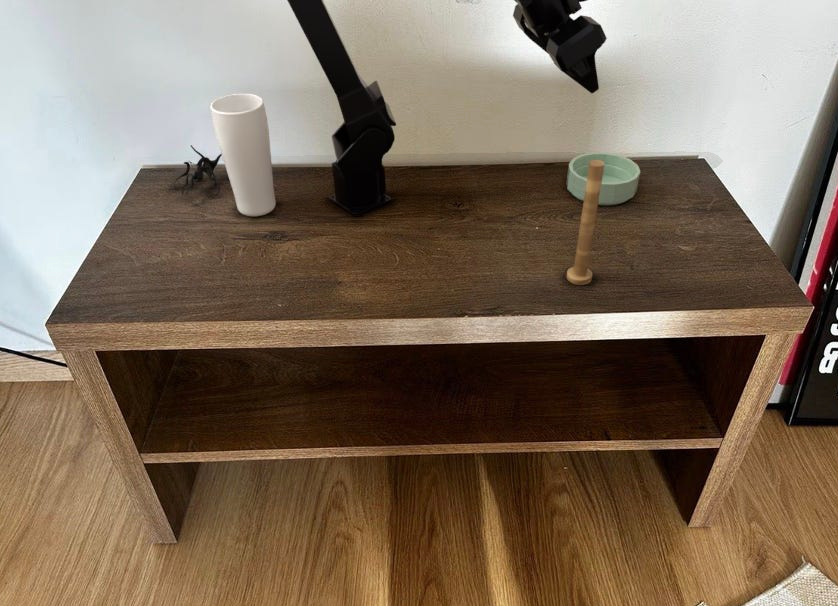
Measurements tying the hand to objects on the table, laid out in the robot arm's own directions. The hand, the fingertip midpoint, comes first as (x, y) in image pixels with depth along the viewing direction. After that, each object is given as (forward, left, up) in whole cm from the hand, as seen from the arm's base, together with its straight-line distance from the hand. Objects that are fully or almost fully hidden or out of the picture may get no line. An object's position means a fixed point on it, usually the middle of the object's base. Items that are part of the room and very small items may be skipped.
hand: (582, 78), depth 94 cm
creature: (-42, +34, -15) cm, 56 cm away
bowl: (+1, -5, -15) cm, 16 cm away
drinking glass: (-39, +23, -15) cm, 48 cm away
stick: (-19, -17, -15) cm, 30 cm away
